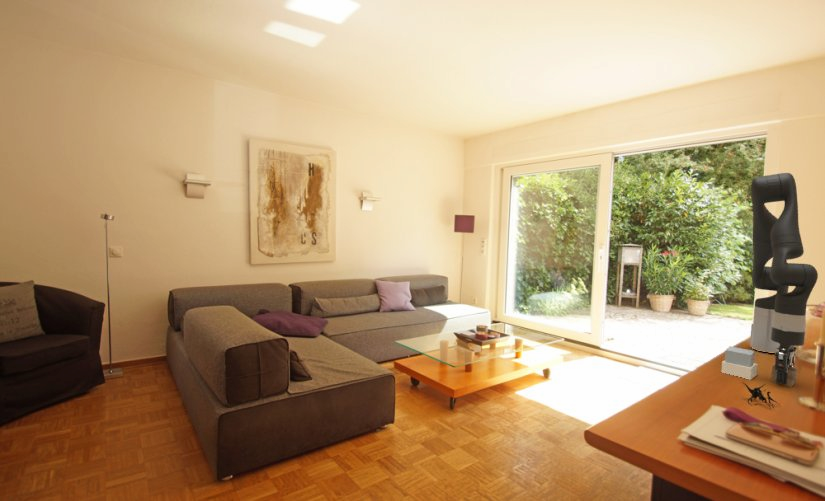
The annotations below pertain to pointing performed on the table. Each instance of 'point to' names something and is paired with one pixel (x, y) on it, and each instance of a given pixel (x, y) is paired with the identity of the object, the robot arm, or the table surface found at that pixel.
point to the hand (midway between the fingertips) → (783, 381)
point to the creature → (759, 395)
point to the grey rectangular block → (739, 356)
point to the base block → (739, 370)
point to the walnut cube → (790, 376)
